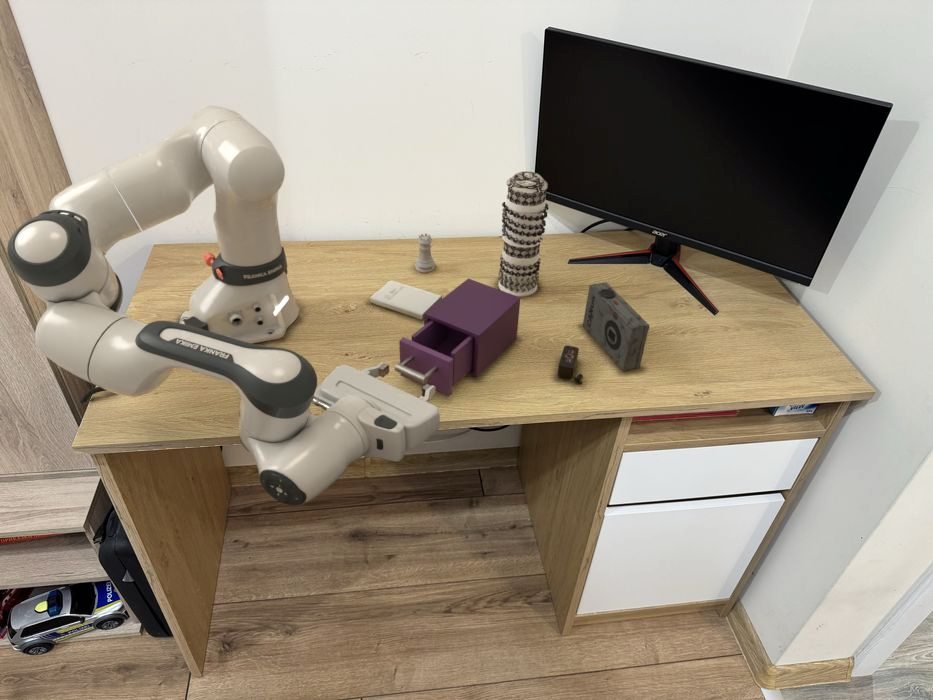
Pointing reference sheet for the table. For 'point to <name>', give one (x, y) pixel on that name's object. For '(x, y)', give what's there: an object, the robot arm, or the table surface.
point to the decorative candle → (522, 233)
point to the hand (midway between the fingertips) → (408, 377)
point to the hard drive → (405, 299)
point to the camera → (615, 326)
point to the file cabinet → (480, 319)
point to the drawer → (436, 356)
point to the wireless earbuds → (569, 364)
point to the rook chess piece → (424, 255)
